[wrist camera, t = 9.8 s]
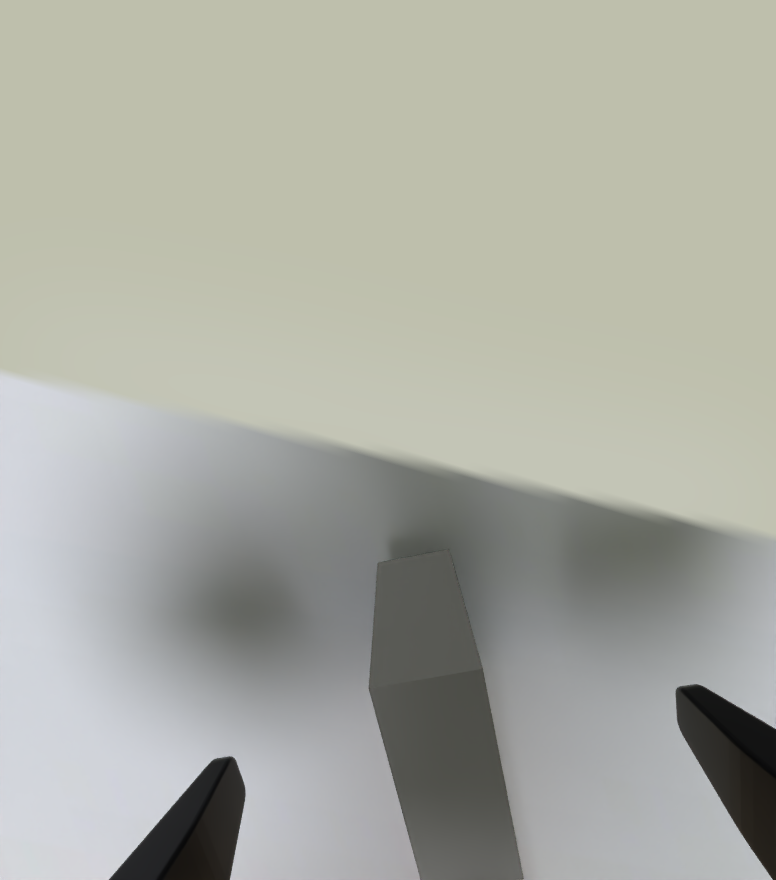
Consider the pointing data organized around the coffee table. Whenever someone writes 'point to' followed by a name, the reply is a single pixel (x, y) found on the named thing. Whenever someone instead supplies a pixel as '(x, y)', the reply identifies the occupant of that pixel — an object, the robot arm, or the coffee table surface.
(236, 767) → the robot arm
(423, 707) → the carton flap
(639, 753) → the coffee table surface
